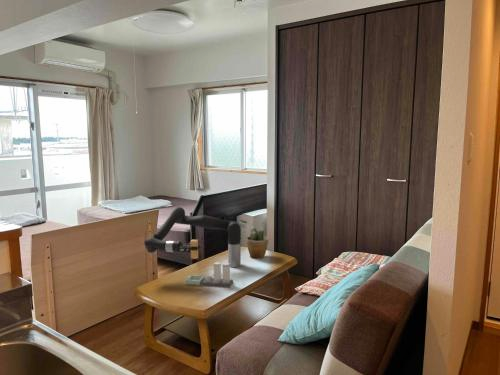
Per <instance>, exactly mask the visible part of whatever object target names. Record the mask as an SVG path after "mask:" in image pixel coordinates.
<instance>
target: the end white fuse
mask: <svg viewBox="0 0 500 375" xmlns="http://www.w3.org/2000/svg"><path fill="white" fill-rule="evenodd" d="M222 279H223V280H228V283H229V282H230V279H231V267H230V263H227V262H224V263H222Z"/></svg>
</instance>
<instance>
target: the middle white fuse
mask: <svg viewBox="0 0 500 375" xmlns="http://www.w3.org/2000/svg"><path fill="white" fill-rule="evenodd" d="M213 278H214V279H219V282H220V281H221V279H222V263H221V262H217V261H216V262H214V263H213Z"/></svg>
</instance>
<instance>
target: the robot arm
mask: <svg viewBox="0 0 500 375" xmlns="http://www.w3.org/2000/svg"><path fill="white" fill-rule="evenodd" d="M175 224H179V225H187V226H192V227H198V228H202V229H207V230H223V231H225V232H228V233H227V238H228V239H227V245H228V246H227V250H228V253H227V255H228V256H227V257H228V258H227V259H228V260H227V261H228V263H230V268H240V267H241V265H242V263H241V254H242V253H241V252H242V250H241V239H242V228H241V226H240V224H239V222H238V221H233V220H227V219H226V220H225V219H221V218H219V217H218V218H217V217H213V216H209V215H204V214H201V215H200V214H199V215H194V216H193V215H191V216H189V215H186V211H185V209H184V207H181V206H179V207H175V208H174V209H173V210H172V212H171V213H170V214H169V216H168V218H167V219H166V221H165V222H164V223H163V224H162V225H161V226H160V227H159V228H158V229H157V230H156V231H155V233H154V234H153V236H152V237H148V238H146V239H145V240H144V241H143V242H144V246H145V249H146V251H147V252H148V253H151V254H152V253H155V252H156V251H157V250H158V251H160V252H169V253H178V254H179V253H183V252H184V253H185V252H191V251H192V250H198V251H199V249H201V248H200V245H199V244H198V247H191V245H190V242H185V243H183V242H182V241H181V240H164V239H165V238H166V237H167V236H168V234H169V233H170V231H171V230H172V228H173V227H174V225H175Z"/></svg>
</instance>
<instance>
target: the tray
mask: <svg viewBox="0 0 500 375" xmlns="http://www.w3.org/2000/svg"><path fill="white" fill-rule="evenodd" d="M205 278H206V276H205V275H200V274H199V275H196V274H190V275H189V276H187V278H186V279H185V280H184V283H185V285H186V286H187V285H188V286H197V287H198V286H200V287H201V286H202V281H203V280H204V279H205Z"/></svg>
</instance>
